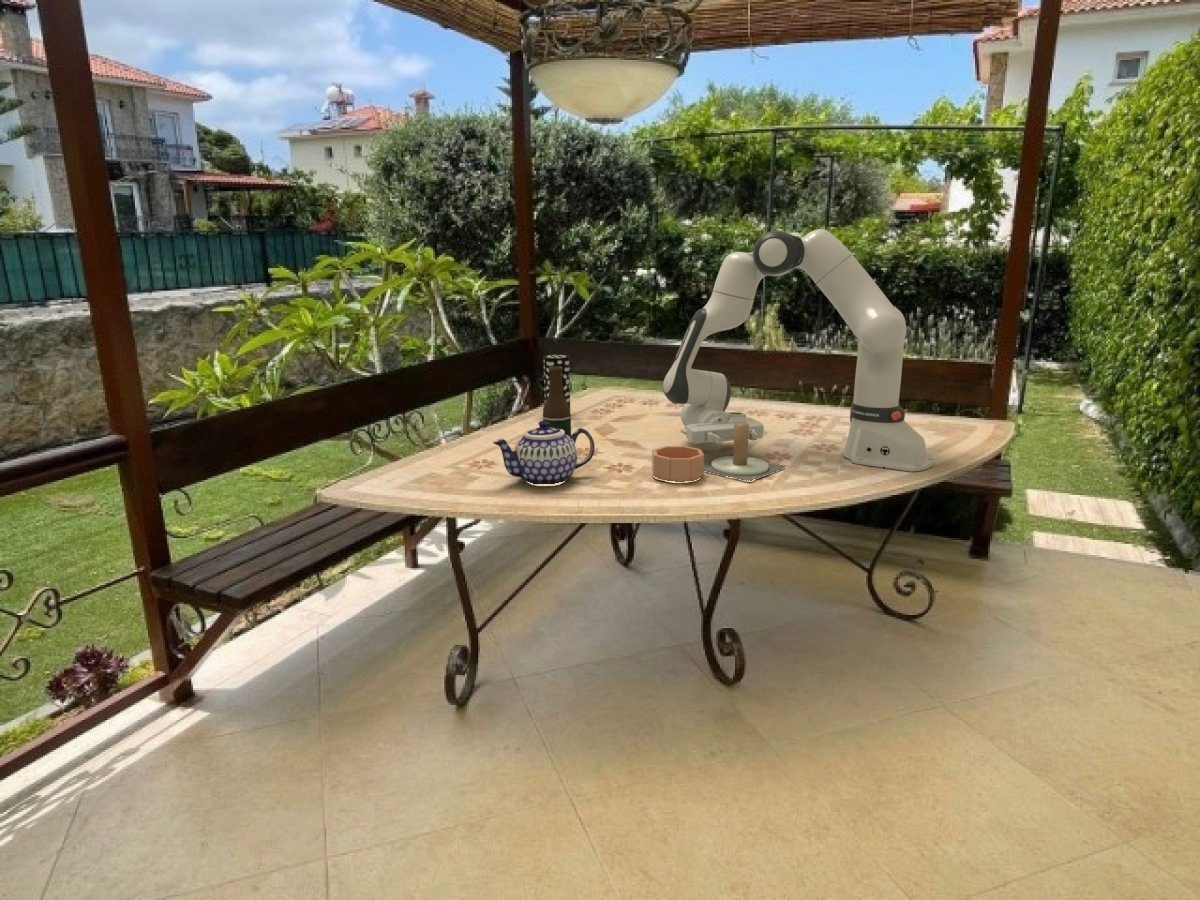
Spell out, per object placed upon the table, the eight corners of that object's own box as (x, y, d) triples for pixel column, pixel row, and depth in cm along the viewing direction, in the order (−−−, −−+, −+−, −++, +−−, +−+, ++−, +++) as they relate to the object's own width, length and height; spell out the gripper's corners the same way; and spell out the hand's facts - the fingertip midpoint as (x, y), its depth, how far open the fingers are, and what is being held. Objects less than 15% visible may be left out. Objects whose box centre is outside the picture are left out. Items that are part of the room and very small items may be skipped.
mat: (784, 468, 186) (784, 466, 186) (749, 483, 175) (749, 481, 175) (730, 457, 197) (731, 455, 197) (694, 470, 186) (694, 468, 186)
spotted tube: (542, 415, 247) (540, 355, 242) (566, 413, 249) (565, 354, 244) (548, 420, 239) (546, 358, 234) (573, 418, 242) (572, 357, 237)
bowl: (712, 475, 181) (712, 451, 180) (681, 487, 173) (682, 462, 171) (673, 466, 189) (673, 443, 188) (642, 476, 181) (642, 452, 179)
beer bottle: (575, 452, 202) (574, 365, 196) (566, 460, 195) (565, 369, 188) (548, 451, 204) (546, 364, 198) (538, 458, 197) (536, 368, 191)
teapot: (585, 467, 189) (585, 410, 185) (605, 484, 175) (605, 423, 172) (487, 477, 181) (485, 417, 177) (500, 495, 168) (498, 431, 164)
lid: (779, 466, 186) (781, 424, 183) (748, 479, 176) (750, 434, 174) (732, 456, 196) (733, 415, 193) (700, 468, 186) (701, 425, 183)
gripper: (678, 417, 195) (699, 429, 182) (749, 412, 201) (774, 423, 188) (677, 441, 197) (699, 454, 184) (748, 435, 202) (773, 447, 189)
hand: (737, 438), depth 186 cm, fingers open, 8 cm apart
